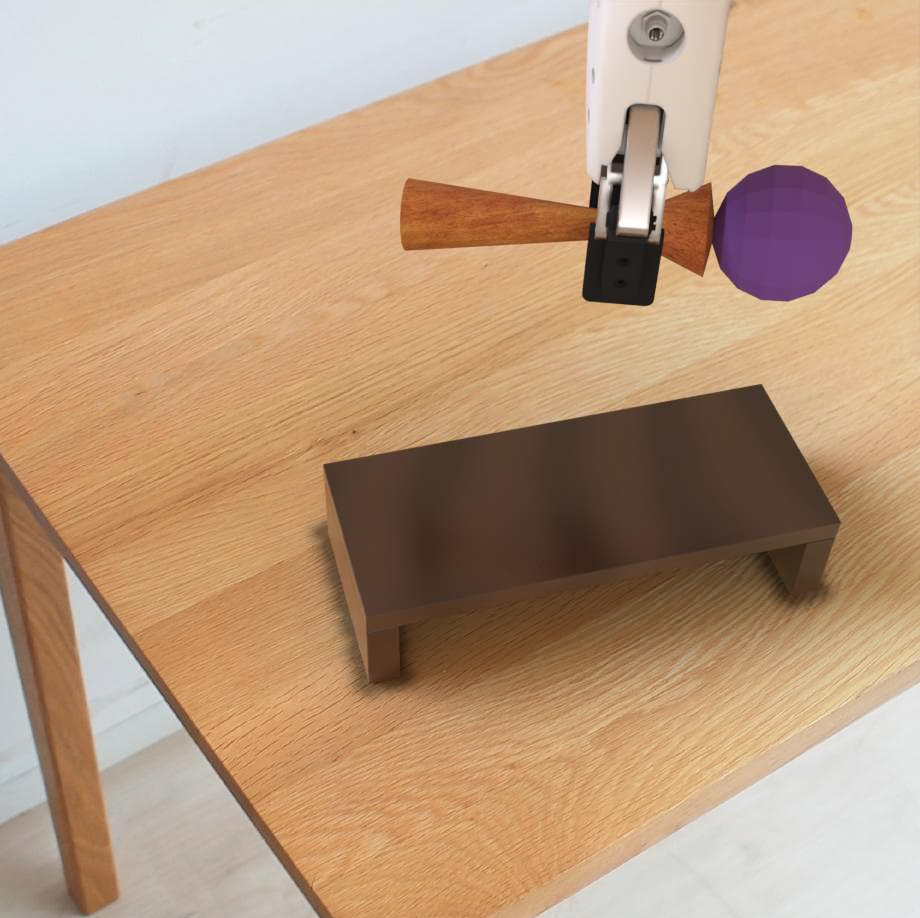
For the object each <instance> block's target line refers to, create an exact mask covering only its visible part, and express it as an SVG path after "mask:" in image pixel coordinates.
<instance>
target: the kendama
mask: <svg viewBox="0 0 920 918" xmlns="http://www.w3.org/2000/svg"><path fill="white" fill-rule="evenodd" d="M712 186H713V185H712V181H709V182H707V183H704V184H702V185H701V186H700V188H698V189H697V190H696V191H694V192H688V190H686V191H684V192H682V193H679V194H677V195H674V196H671V197H669V198H665V205H664V213H663V220H662V228H663V229H665V233H664V242H663V248H662V254H661V257H663V258H664V259H667V260H669V261H670V262H673V263H674V264H675V265H678V266H680V267H681V268H683V269H686V270H688V271H690V272H691V273H693V274H695V275H696V276H699V277H701V278H704V274H705V272H706V269H707V264H708V260H709V256H710V254H711V249H712V247H713V252H714V254H715V258H716V261H717V265H718V267H719V269H720V271H721V272H722V273H723V274H724V275H725V276H726V277H727V279H728V280H729V281H730V282H731V283H732V285H734V287H735V288H736V289H737V290H739V291H741V292H744V293H746V294H747V295H750V296H751V297H754V298H756V299H758V300H760V301H770V302H785V303H786V302H787V303H788V302H791V301H795V300H798V299H801V298H804V297H806V296H810V295H813V294H815V293H816V292H818V290H820V289H821V288H822V287H824V286H825V285H826V284H827V283H828V282H830V281H831V280H832V279H833V278H835V277H836V276H837V275H838V273H839V271H840V269H841V267H842V266H843V264H844V262H845V260H846V258H847V257H848V254H849V253H850V250H851V246H852V238H853V222H852V219H851V216H850V212H849V209H848V206H847V203H846V200H845V197H844V196H843V195H842V193H840V191H839V190H838V189H837V188H836V186H835V185H834V184H833V183H832V182H831V181H830V180H829V179H828V177H826V176H825V175H822V174H820V173H818V172H816V171H814V170H811V169H810V168H808V167H805V166H803V165H793V164H792V165H791V164H790V165H789V164H773V165H770V166H768V167H764V168H761V169H758V170H756V171H752V172H750V173H747V174H746V175H745V176H744V177H743V178H742V179H741V180H739V181H738V182H737V183H736V184H735V185H734V186H733V187H732V188H730V189H729V190H728V191H727V192H726V193H725V196H724V197H723V199H722V201H721V202H720V205H719V207H718V208H717V210H716V213H715V209H714V200H713V199H714V197H713V187H712ZM399 212H400V213H399V232H400V233H399V235H400V241H401V242H400V243H401V245H402V249H403V251H406V252H409V251H410V252H411V251H426V250H445V249H462V248H480V247H481V248H482V247H496V246H499V247H500V246H514V245H515V246H517V245H530V244H531V245H532V244H551V243H564V242H565V243H566V242H567V243H569V242H586V241H587V242H588V234H589V226H590V223H596V217H597V208H590V207H589V206H584V205H577V204H570V203H566V202H565V203H564V202H559V201H554V200H553V201H552V200H548V199H540V198H535V197H534V198H533V197H529V196H522V195H516V194H511V193H510V194H509V193H504V192H499V191H491V190H485V189H479V188H472V187H466V186H460V185H455V184H447V183H442V182H436V181H430V180H423V179H417V178H411V177H407V179H406V180H405V183H404V186H403V189H402V193H401V201H400V211H399Z"/></svg>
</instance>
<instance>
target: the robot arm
mask: <svg viewBox="0 0 920 918" xmlns="http://www.w3.org/2000/svg"><path fill="white" fill-rule="evenodd" d="M731 2H732V0H589V10H588V11H589V13H588V26H587V27H588V28H587V46H586V67H585V68H586V69H585V70H586V73H585V74H586V77H585V145H586V146H585V153H586V154H585V156H586V159H585V161H586V162H585V163H586V175H587V176H588V177H589V178H590V179H591V184H590V192H589V202H588V207H590V208H597V217H596V223H590V226H589V234H588V240H587V244H586V254H585V261H584V262H585V263H584V269H583V271H584V272H583V280H582V281H583V282H582V291H581V297H582V299H583V300H585V301H586V302H589V303H601V304H613V305H624V306H625V305H626V306H635V307H636V306H637V307H648V306H651V305H652V304H654V301H655V297H656V291H657V283H658V279H659V278H658V277H659V273H660V265H661V260H662V256H661V254H662V248H663V242H664V233H665V229H663V228H662V220H663V213H664V205H665V200H666V199H667V198H666V197H667V191H668V190H667V189H668V184H669V182H670V181H671V184H672V187H673V189H674V190H675V191H677V190H678V191H679V190H680V191H688V192H694V191H696V190H697V189H698V188H700V186H702V185H704V184H705V178H706V172H707V163H708V156H709V150H710V149H709V148H710V142H711V137H712V129H713V122H714V115H715V109H716V102H717V95H718V90H719V85H720V84H719V83H720V77H721V71H722V64H723V58H724V53H725V52H724V51H725V46H726V39H727V31H728V25H729V18H730V10H731Z"/></svg>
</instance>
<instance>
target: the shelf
mask: <svg viewBox="0 0 920 918" xmlns="http://www.w3.org/2000/svg"><path fill="white" fill-rule="evenodd" d="M322 470H323V471H322V472H323V481H324V482H323V483H324V495H325V496H324V497H325V508H326V509H325V510H326V520H327V521H326V522H327V523H326V524H327V535H328V538H329V542H330V545H331V549H332V552H333V557H334V560H335V563H336V568H337V571H338V574H339V578H340V579H339V580H340V581H341V586H342V589H343V593H344V597H345V600H346V604H347V608H348V611H349V616H350V619H351V623H352V626H353V631H354V634H355V637H356V640H357V645H358V649H359V652H360V655H361V659H362V663H363V666H364V667H363V668H364V671H365V674H366V678H367V681H368V683H369V684H372V683H378V682H383V681H387V680H392V679H396V678H397V679H398V678H399V677H401V659H400V657H401V656H400V652H401V651H400V627H401V626H405V625H411V624H415V623H420V622H421V623H422V622H424V621H425V622H426V621H430V620H435V619H440V618H445V617H449V616H455V615H461V614H466V613H470V612H475V611H479V610H484V609H489V608H494V607H499V606H504V605H509V604H513V603H519V602H524V601H527V600H529V601H530V600H533V599H538V598H543V597H549V596H553V595H559V594H562V593H568V592H573V591H577V590H583V589H587V588H588V589H589V588H592V587H598V586H602V585H607V584H613V583H618V582H623V581H627V580H631V579H635V578H636V579H637V578H642V577H647V576H651V575H656V574H661V573H666V572H671V571H676V570H677V571H678V570H680V569H686V568H691V567H697V566H701V565H705V564H710V563H716V562H720V561H725V560H726V561H727V560H730V559H735V558H741V557H744V556H749V555H755V554H761V553H767V555H768V556H769V558H770V560H771V562H772V564H773V566H774V567H775V570H776V571H777V573H778V575H779V577H780V579H781V581H782V583H783V586H784V587H785V589H786V591H787V592H788V593H787V594H788V595H790V596H795V595H798V594H803V593H807V592H813V591H817V590H818V589H819V587H820V584H821V581H822V579H823V575H824V572H825V569H826V567H827V564H828V561H829V557H830V555H831V552H832V549H833V546H834V543H835V540H836V537H837V536H838V532H839V530H840V527H841V525H842V524H841V523H842V521H841V519H840V517H839V516H838V514H837V512H836V510H835V509H834V506H833V505H832V503H831V502H830V499H829V498H828V496H827V494H826V493H825V491H824V489H823V488H822V486H821V484H820V482H819V481H818V479H817V477H816V475H815V474H814V472H813V471H812V469H811V467H810V465H809V463H808V462H807V460H806V458H805V456H804V454H803V453H802V451H801V450H800V448H799V446H798V444H797V443H796V441H795V439H794V437H793V435H792V434H791V432H790V430H789V428H788V427H787V425H786V423H785V422H784V419H783V418H782V417H781V414H780V413H779V412H778V409H777V408H776V406H775V404H774V402H773V400H772V399H771V398H770V395H769V394H768V392H767V391H766V389H765V387H764V385H763V383H759V384H751V385H747V386H742V387H736V388H731V389H725V390H720V391H715V392H709V393H704V394H698V395H692V396H688V397H687V396H686V397H682V398H681V397H680V398H676V399H670V400H666V401H660V402H655V403H650V404H643V405H637V406H632V407H628V408H621V409H616V410H611V411H605V412H599V413H595V414H589V415H584V416H579V417H573V418H567V419H561V420H557V421H551V422H545V423H540V424H535V425H530V426H524V427H517V428H512V429H507V430H502V431H496V432H491V433H485V434H480V435H474V436H469V437H463V438H458V439H453V440H447V441H442V442H436V443H430V444H425V445H420V446H414V447H409V448H403V449H397V450H393V451H388V452H387V451H386V452H382V453H375V454H371V455H366V456H359V457H355V458H354V457H353V458H350V459H343V460H338V461H333V462H328V463H323V464H322Z"/></svg>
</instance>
